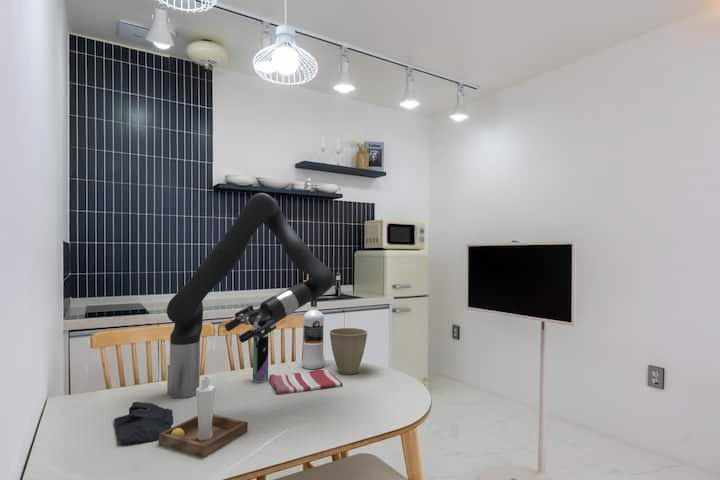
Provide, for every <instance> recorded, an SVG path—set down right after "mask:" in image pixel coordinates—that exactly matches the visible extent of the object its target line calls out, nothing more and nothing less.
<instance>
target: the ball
mask: <svg viewBox="0 0 720 480" xmlns="http://www.w3.org/2000/svg"><path fill="white" fill-rule="evenodd" d="M171 435H174V436H177V437H181V438H184V431H183V429H181V428H176V429H174V430H173V431H172V432H171Z"/></svg>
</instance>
